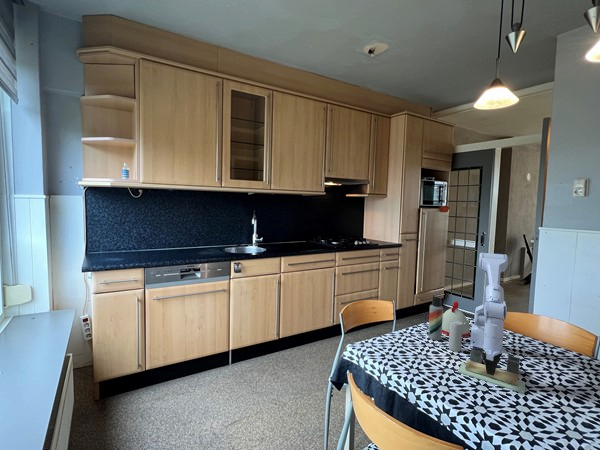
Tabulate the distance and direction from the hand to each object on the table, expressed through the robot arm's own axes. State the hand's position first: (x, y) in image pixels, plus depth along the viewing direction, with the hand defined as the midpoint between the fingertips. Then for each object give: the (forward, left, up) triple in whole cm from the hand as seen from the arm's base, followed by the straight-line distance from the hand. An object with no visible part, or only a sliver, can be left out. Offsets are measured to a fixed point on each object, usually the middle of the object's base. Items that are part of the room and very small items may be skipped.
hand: (490, 372), depth 111 cm
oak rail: (0, 0, -1) cm, 1 cm away
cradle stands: (0, +10, -2) cm, 10 cm away
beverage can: (-15, +16, -2) cm, 22 cm away
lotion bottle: (-25, +23, -2) cm, 34 cm away
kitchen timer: (-20, +38, -2) cm, 43 cm away
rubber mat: (0, 0, -2) cm, 2 cm away
